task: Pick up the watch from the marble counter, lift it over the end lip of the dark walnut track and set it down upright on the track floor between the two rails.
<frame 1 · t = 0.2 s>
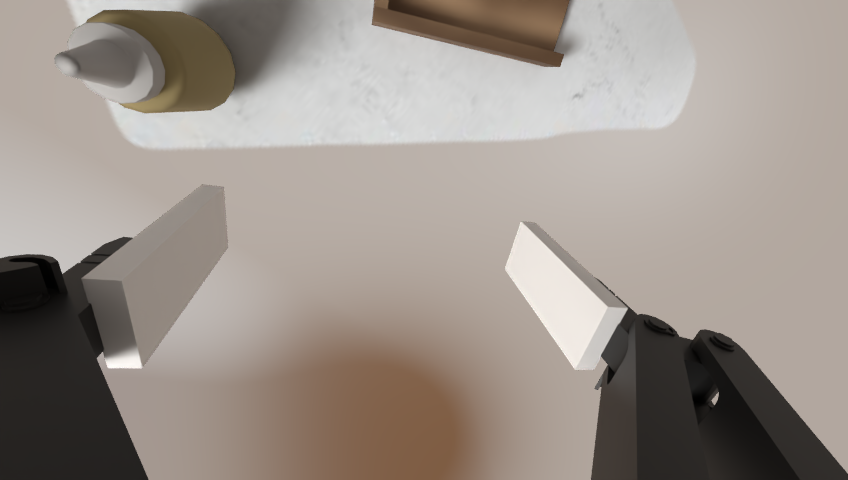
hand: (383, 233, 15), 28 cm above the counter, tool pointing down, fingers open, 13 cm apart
squeeze bottle: (203, 64, 34), on the counter
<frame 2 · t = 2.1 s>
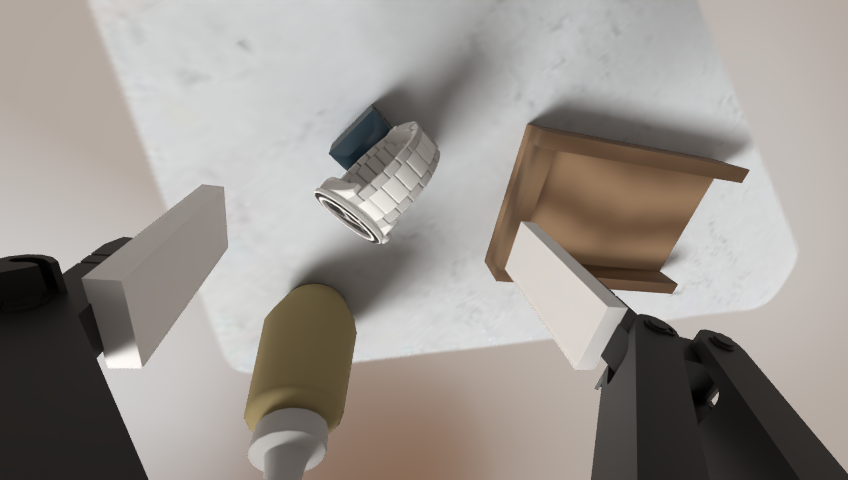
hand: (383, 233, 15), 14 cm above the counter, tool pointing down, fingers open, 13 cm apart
watch: (376, 151, 28), on the counter
squeeze bottle: (315, 305, 34), on the counter
walnut track: (596, 211, 33), on the counter
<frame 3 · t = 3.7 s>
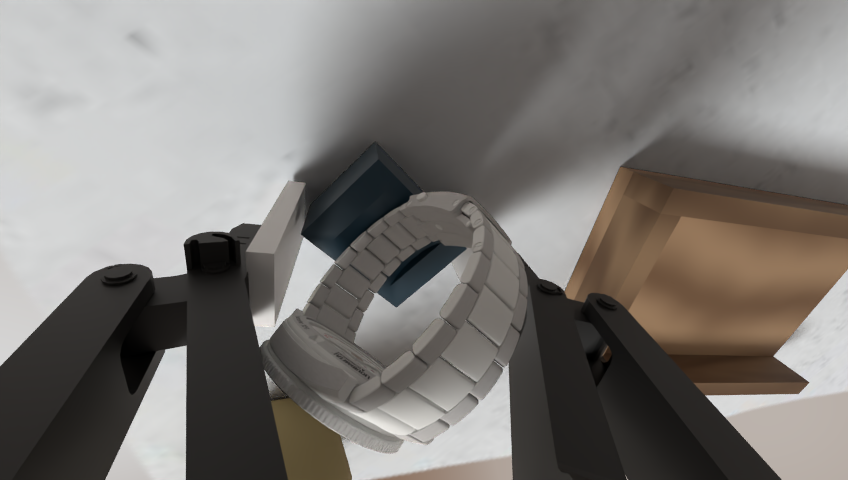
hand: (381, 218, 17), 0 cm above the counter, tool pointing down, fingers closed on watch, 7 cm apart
watch: (382, 213, 17), on the counter, touching gripper
squeeze bottle: (292, 421, 23), on the counter
walnut track: (700, 283, 23), on the counter
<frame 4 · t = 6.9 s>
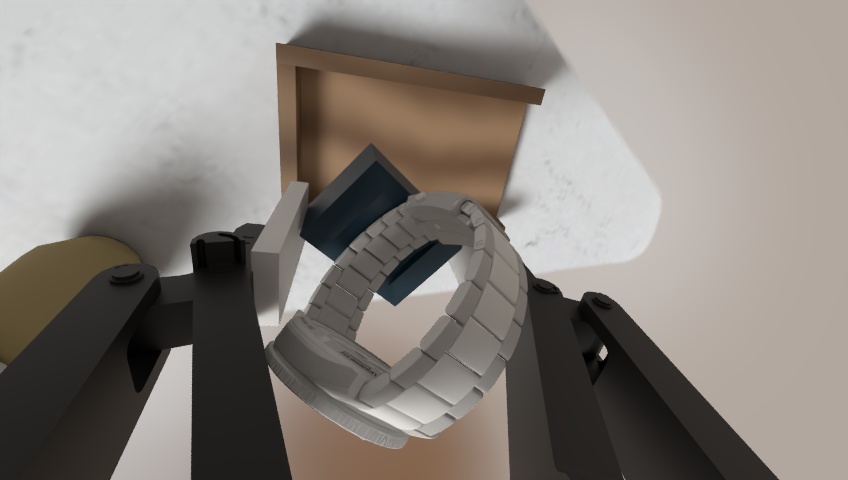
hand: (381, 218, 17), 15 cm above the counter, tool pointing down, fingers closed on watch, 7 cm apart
watch: (379, 213, 17), point 15 cm above the counter, touching gripper
squeeze bottle: (108, 261, 31), on the counter
walnut track: (405, 148, 31), on the counter
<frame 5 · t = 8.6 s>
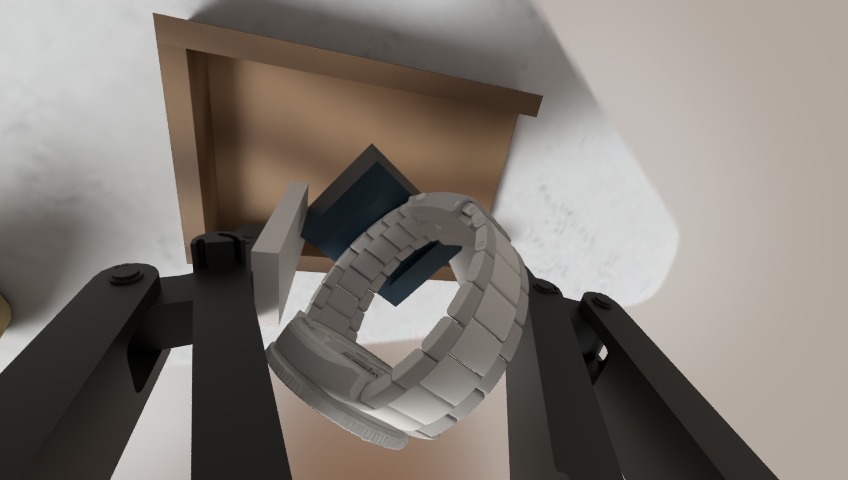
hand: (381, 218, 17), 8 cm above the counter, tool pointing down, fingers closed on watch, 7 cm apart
watch: (380, 213, 17), point 8 cm above the counter, touching gripper
walnut track: (359, 166, 24), on the counter
when the fingers open (2 cm above the counter, at t = 10.0 s): watch drops 1 cm, resting on walnut track.
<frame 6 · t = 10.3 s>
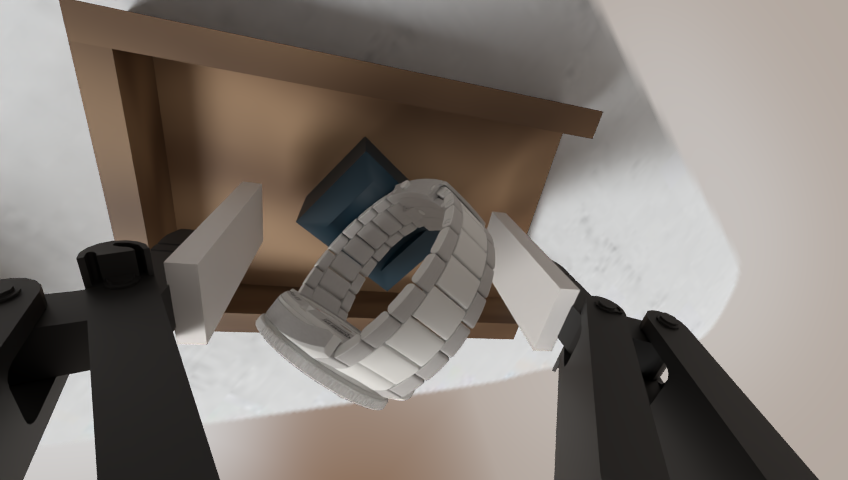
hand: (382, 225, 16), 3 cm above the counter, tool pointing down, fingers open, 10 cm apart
watch: (374, 204, 18), point 1 cm above the counter, touching walnut track
walnut track: (360, 197, 19), on the counter
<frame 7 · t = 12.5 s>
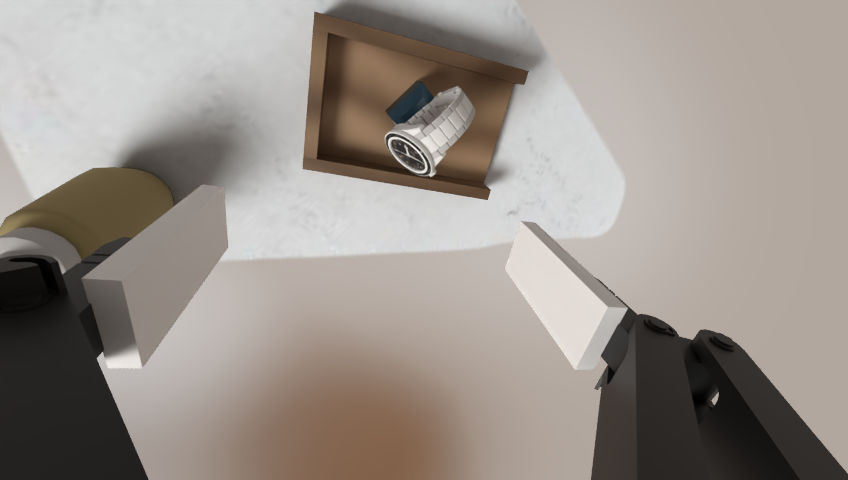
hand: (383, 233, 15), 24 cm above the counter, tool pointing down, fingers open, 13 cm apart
watch: (417, 117, 36), point 1 cm above the counter, touching walnut track
squeeze bottle: (143, 195, 36), on the counter
walnut track: (409, 115, 36), on the counter
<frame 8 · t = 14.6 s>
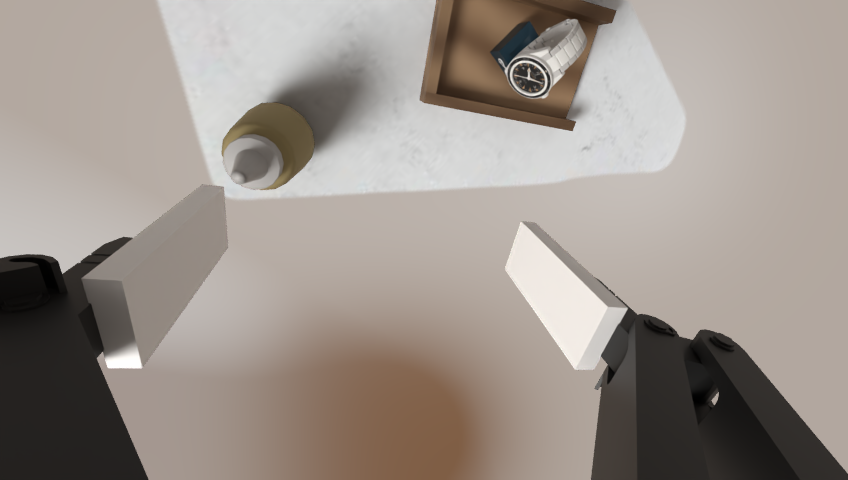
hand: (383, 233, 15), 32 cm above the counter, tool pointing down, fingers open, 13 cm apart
watch: (515, 58, 42), point 1 cm above the counter, touching walnut track
squeeze bottle: (284, 133, 42), on the counter
walnut track: (507, 57, 42), on the counter
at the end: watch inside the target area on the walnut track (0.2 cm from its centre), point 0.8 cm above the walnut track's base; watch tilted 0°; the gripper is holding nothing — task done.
